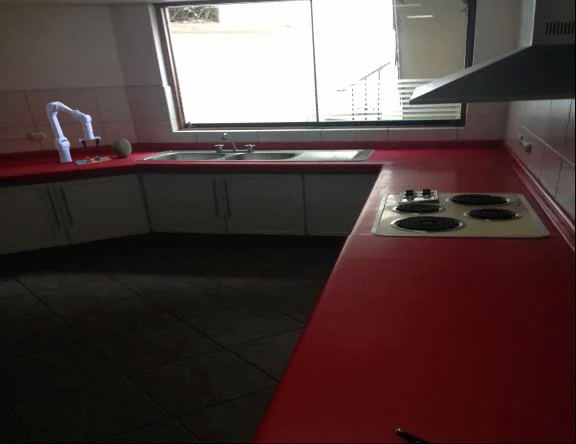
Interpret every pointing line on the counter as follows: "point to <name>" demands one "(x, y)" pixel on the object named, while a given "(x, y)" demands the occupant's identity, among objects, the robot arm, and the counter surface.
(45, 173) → the counter surface
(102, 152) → the counter surface
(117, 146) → the cantaloupe
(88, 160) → the red spoon
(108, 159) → the board
